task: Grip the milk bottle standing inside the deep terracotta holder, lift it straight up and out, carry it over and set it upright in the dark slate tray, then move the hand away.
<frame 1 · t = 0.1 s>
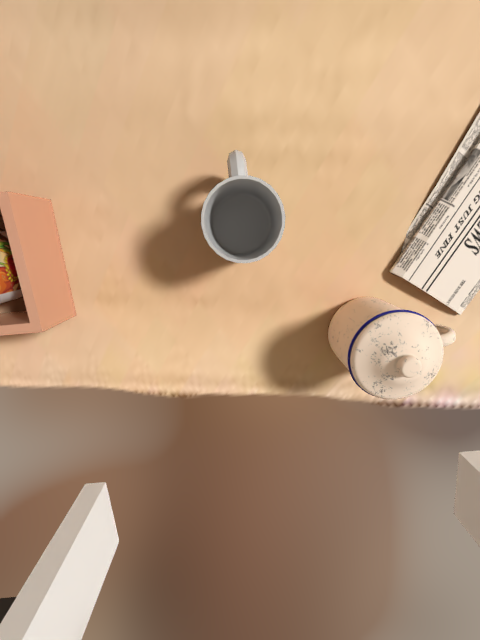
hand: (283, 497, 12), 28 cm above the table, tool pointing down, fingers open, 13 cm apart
newspaper: (469, 208, 37), on the table
cup: (240, 211, 37), on the table
teacup with lid: (373, 328, 40), on the table
milk bottle: (9, 264, 38), resting in deep holder
deep holder: (7, 265, 38), on the table
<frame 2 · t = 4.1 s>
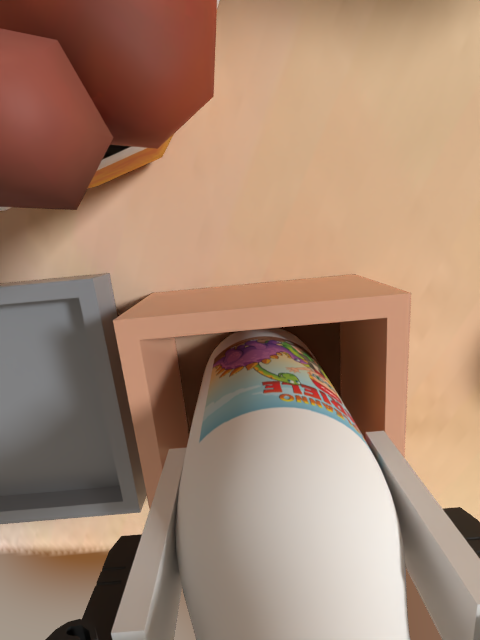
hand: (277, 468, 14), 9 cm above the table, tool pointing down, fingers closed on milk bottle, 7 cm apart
bucket of meat: (92, 83, 18), on the table
milk bottle: (260, 375, 23), resting in deep holder, touching gripper
deep holder: (260, 377, 23), on the table
tray: (10, 399, 23), on the table
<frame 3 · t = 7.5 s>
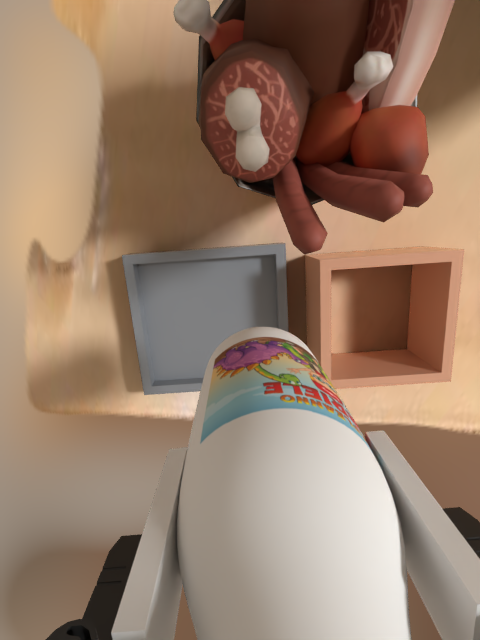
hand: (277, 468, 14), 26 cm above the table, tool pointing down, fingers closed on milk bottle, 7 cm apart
bucket of meat: (287, 137, 34), on the table
milk bottle: (261, 376, 23), point 16 cm above the table, touching gripper
deep holder: (362, 307, 38), on the table
tray: (212, 318, 39), on the table
when the fingers open (12 cm above the table, at t = 10.7 s): milk bottle drops 1 cm, resting on tray.
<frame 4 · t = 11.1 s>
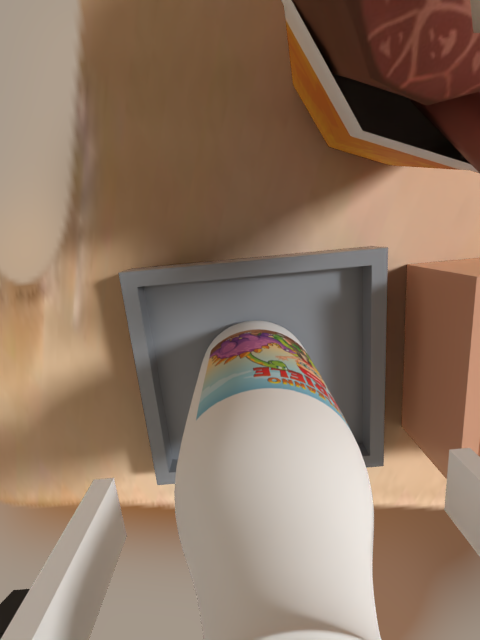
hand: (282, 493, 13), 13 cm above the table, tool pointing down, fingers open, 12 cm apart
bucket of meat: (388, 73, 21), on the table
milk bottle: (254, 367, 24), point 1 cm above the table, touching tray
tray: (259, 363, 25), on the table
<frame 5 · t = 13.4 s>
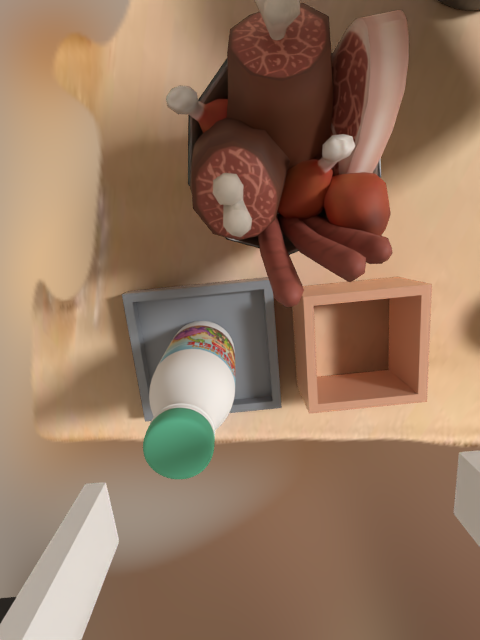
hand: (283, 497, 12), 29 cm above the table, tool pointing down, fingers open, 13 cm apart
bucket of meat: (271, 183, 37), on the table
milk bottle: (203, 349, 41), point 1 cm above the table, touching tray
deep holder: (345, 333, 41), on the table
tray: (207, 347, 41), on the table
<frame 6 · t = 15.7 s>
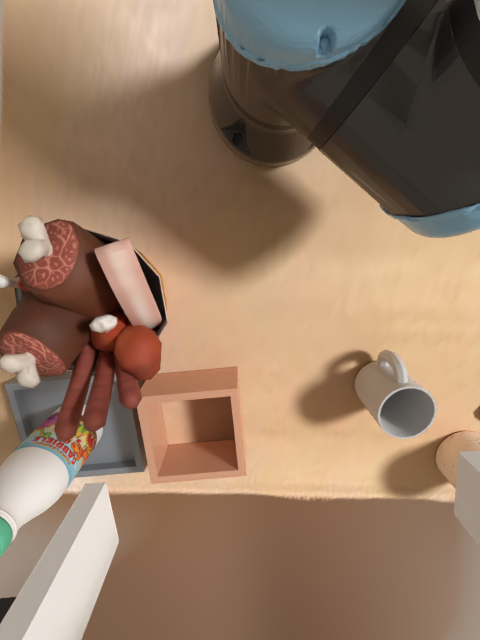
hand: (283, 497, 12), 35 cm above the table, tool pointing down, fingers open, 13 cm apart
bucket of meat: (125, 295, 46), on the table
cup: (376, 372, 49), on the table
teacup with lid: (469, 451, 52), on the table
milk bottle: (79, 423, 49), point 1 cm above the table, touching tray
deep holder: (198, 410, 50), on the table
tray: (84, 420, 50), on the table
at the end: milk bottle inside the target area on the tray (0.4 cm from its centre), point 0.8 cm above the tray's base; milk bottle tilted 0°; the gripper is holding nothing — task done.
